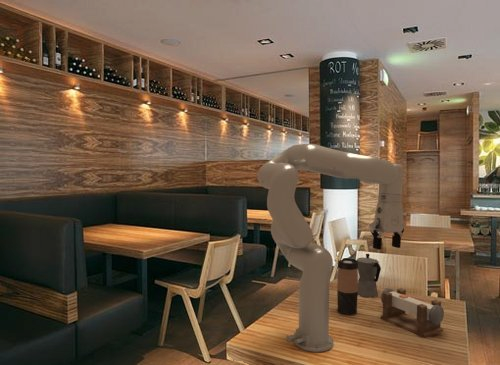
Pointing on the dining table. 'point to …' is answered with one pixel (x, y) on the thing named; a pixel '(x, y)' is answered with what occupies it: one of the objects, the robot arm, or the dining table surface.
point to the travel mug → (347, 286)
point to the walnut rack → (409, 317)
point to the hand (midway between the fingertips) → (386, 248)
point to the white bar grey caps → (415, 306)
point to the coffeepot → (368, 276)
